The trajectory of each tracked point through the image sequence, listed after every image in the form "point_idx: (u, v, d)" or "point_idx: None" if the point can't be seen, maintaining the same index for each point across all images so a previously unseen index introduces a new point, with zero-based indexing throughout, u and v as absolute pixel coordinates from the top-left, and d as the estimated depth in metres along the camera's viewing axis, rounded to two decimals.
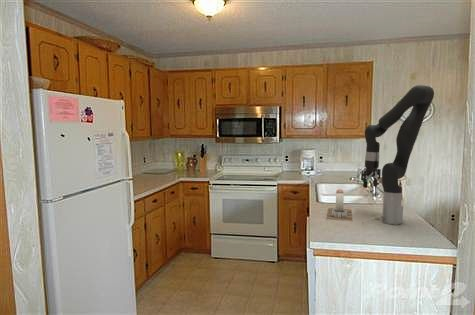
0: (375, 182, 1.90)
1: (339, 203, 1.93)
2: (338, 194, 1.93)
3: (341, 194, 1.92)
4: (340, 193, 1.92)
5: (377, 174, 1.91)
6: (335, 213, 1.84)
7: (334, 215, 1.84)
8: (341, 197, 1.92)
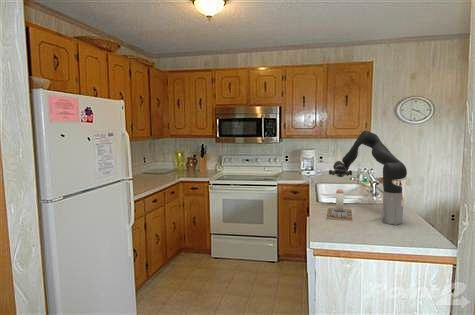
0: (346, 173, 2.05)
1: (339, 203, 1.93)
2: (338, 194, 1.93)
3: (341, 194, 1.92)
4: (340, 193, 1.92)
5: None
6: (335, 213, 1.84)
7: (334, 215, 1.84)
8: (341, 197, 1.92)
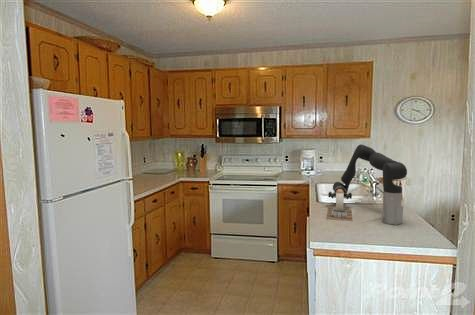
0: (346, 196, 2.02)
1: (339, 203, 1.93)
2: (338, 194, 1.93)
3: (341, 194, 1.92)
4: (340, 193, 1.92)
5: None
6: (335, 213, 1.84)
7: (334, 215, 1.84)
8: (341, 197, 1.92)
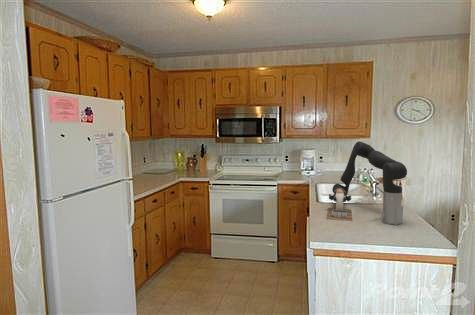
0: None
1: (339, 203, 1.93)
2: (338, 194, 1.93)
3: (341, 194, 1.92)
4: (340, 193, 1.92)
5: None
6: (335, 213, 1.84)
7: (334, 215, 1.84)
8: (341, 197, 1.92)
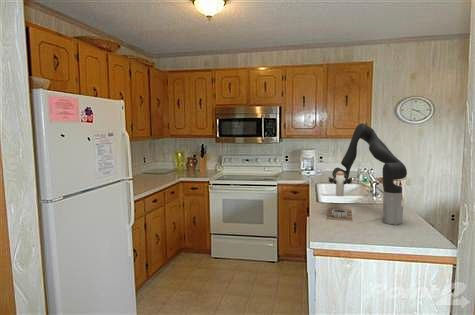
0: None
1: (339, 186, 1.83)
2: (338, 176, 1.83)
3: (341, 176, 1.83)
4: (341, 175, 1.83)
5: None
6: (335, 213, 1.84)
7: (334, 215, 1.84)
8: (341, 179, 1.83)
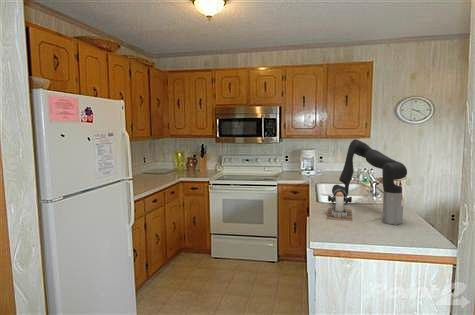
0: (345, 200, 1.85)
1: (338, 207, 1.84)
2: (338, 197, 1.84)
3: (341, 197, 1.83)
4: (340, 196, 1.84)
5: None
6: (335, 213, 1.84)
7: (334, 215, 1.84)
8: (341, 200, 1.84)
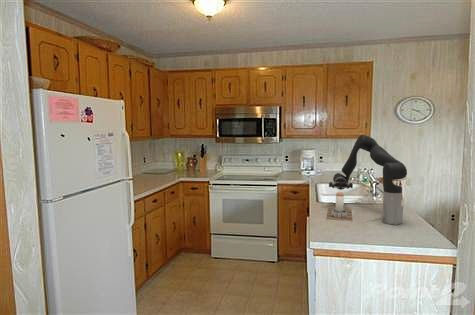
0: (347, 185, 1.99)
1: (338, 207, 1.84)
2: (338, 197, 1.84)
3: (341, 197, 1.84)
4: (340, 196, 1.84)
5: (350, 185, 2.03)
6: (335, 213, 1.84)
7: (334, 215, 1.84)
8: (341, 200, 1.84)
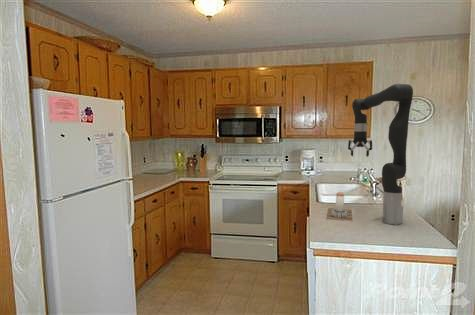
0: (366, 152, 2.02)
1: (339, 207, 1.84)
2: (338, 197, 1.84)
3: (341, 197, 1.84)
4: (341, 196, 1.84)
5: None
6: (335, 213, 1.84)
7: (334, 215, 1.84)
8: (341, 200, 1.84)
